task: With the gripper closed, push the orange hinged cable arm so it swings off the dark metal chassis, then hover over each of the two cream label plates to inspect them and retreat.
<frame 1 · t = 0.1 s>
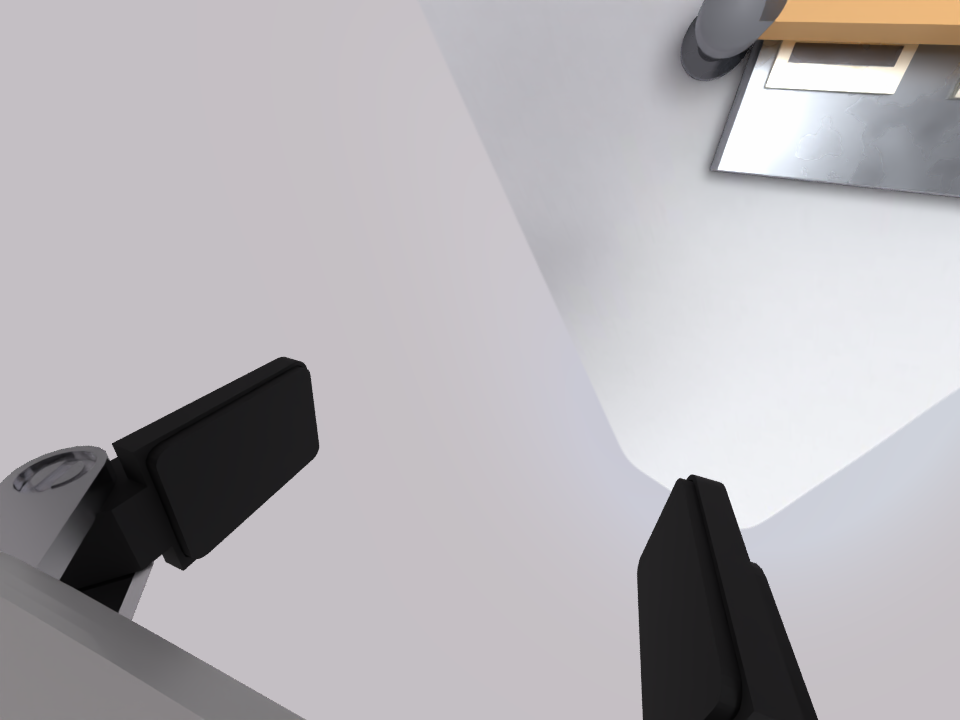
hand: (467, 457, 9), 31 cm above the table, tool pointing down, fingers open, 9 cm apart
pivot post: (715, 43, 27), on the table
chassis: (927, 50, 24), on the table
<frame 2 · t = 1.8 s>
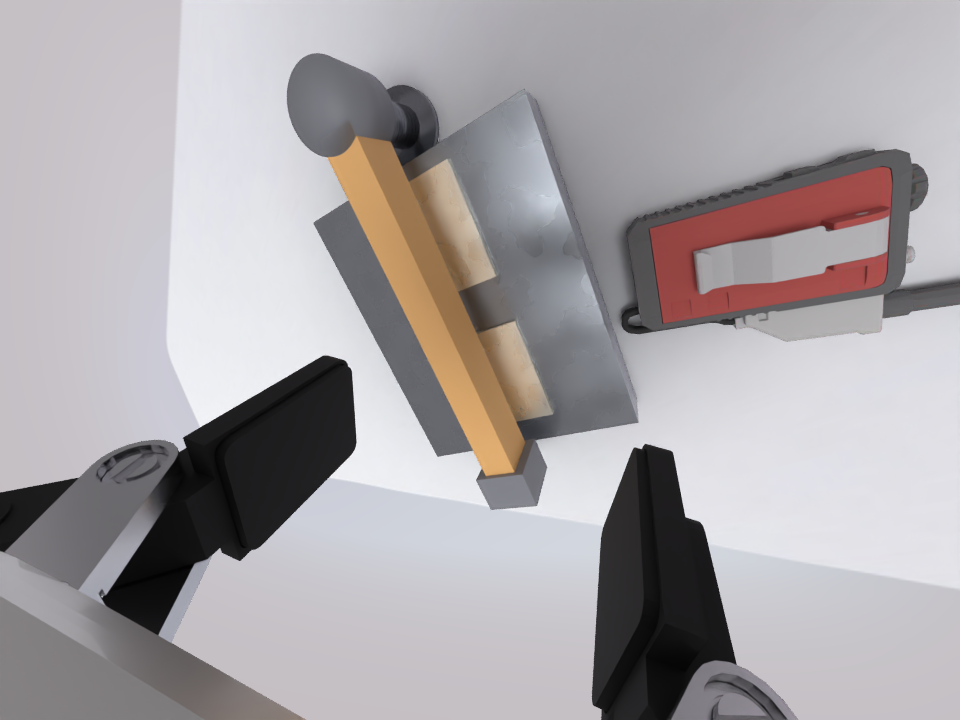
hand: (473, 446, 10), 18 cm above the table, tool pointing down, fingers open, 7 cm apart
pivot post: (407, 128, 24), on the table
chassis: (484, 306, 27), on the table
cable arm: (437, 312, 21), point 6 cm above the table, hinge at 0.0°
walkie-talkie: (808, 249, 20), on the table
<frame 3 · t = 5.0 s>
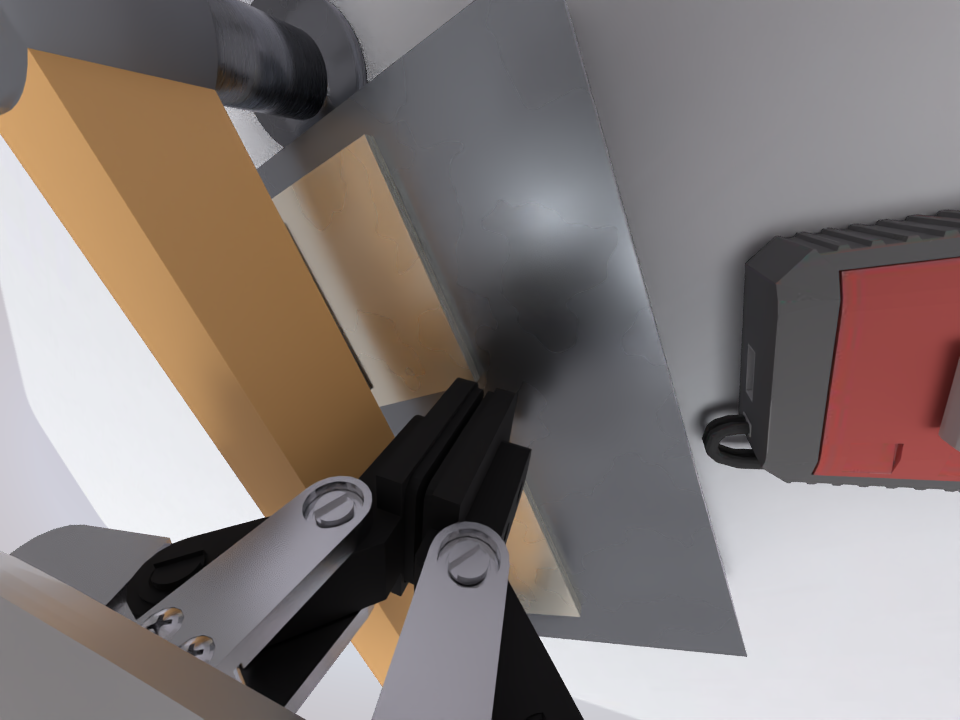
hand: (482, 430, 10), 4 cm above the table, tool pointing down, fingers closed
pivot post: (309, 80, 12), on the table
chassis: (459, 401, 16), on the table
cable arm: (336, 474, 10), point 7 cm above the table, hinge at -1.4°, touching gripper
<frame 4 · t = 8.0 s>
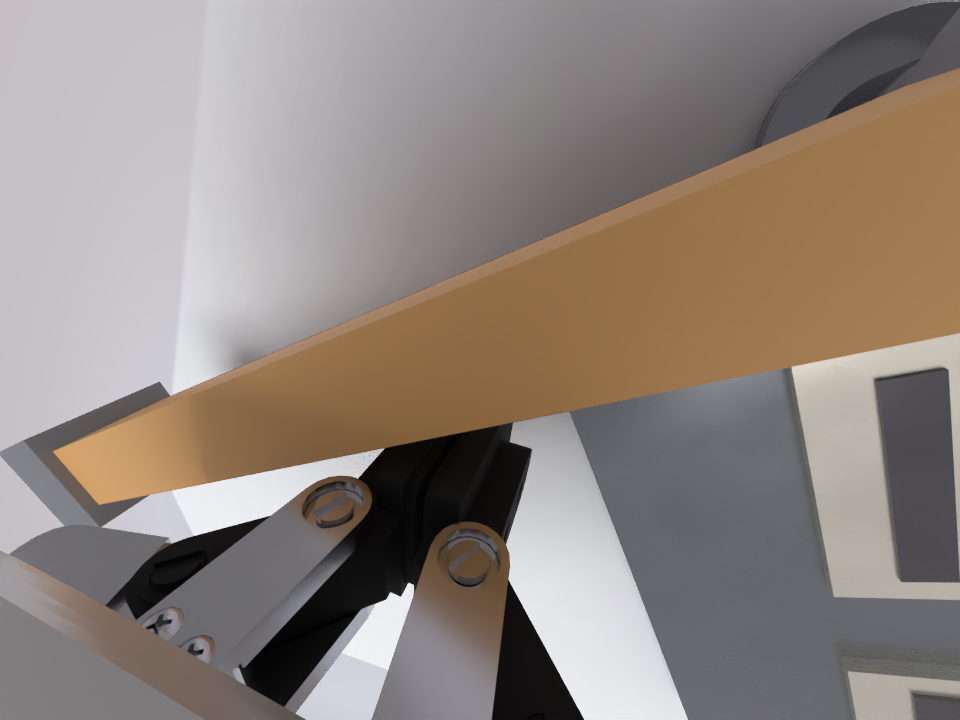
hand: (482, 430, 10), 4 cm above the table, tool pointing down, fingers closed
pivot post: (867, 138, 9), on the table
chassis: (908, 543, 12), on the table
cable arm: (360, 373, 8), point 6 cm above the table, hinge at -89.7°
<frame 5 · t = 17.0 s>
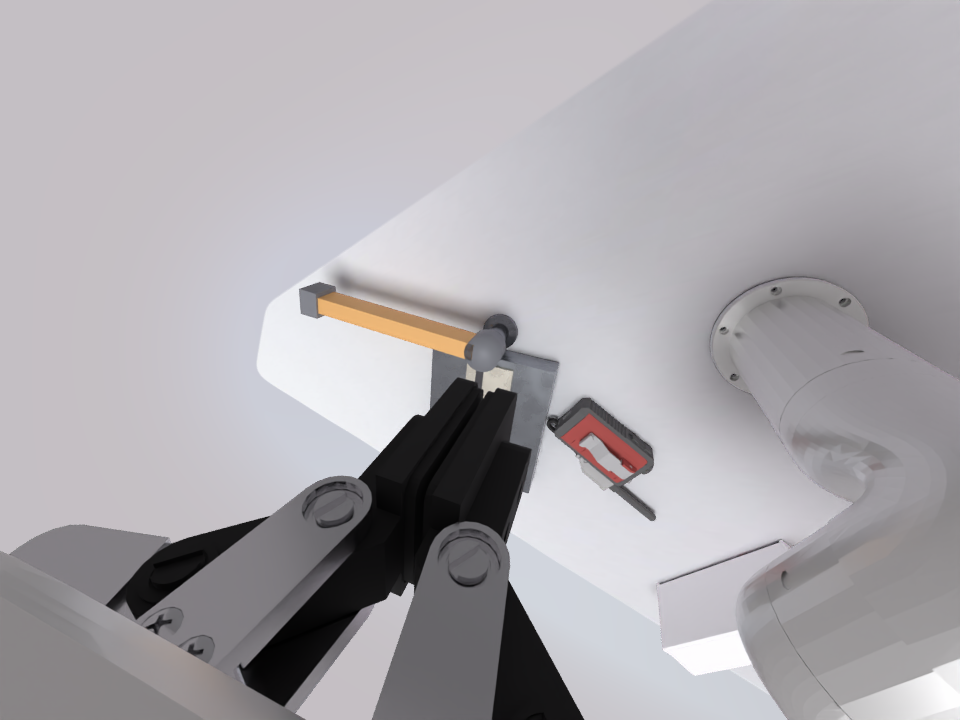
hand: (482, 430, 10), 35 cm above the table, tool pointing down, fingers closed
pivot post: (501, 330, 48), on the table
cigarette display: (731, 572, 52), on the table
chassis: (489, 410, 53), on the table
cable arm: (400, 324, 44), point 7 cm above the table, hinge at -93.4°
walkie-talkie: (615, 453, 50), on the table
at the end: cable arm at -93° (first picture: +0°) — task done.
